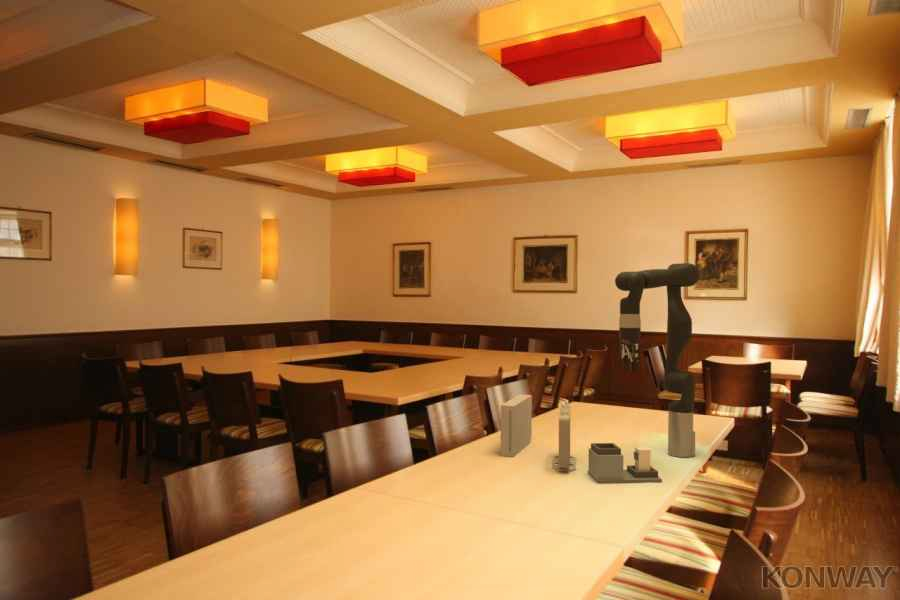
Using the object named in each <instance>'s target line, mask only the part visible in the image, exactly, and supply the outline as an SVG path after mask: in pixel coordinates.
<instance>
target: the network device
mask: <svg viewBox="0 0 900 600" xmlns="http://www.w3.org/2000/svg"><path fill="white" fill-rule="evenodd" d="M557 457H558V458H557ZM556 458H557V459H558V460H556ZM571 458H573V459H572V461H571ZM555 464H559V465H558V467H555V466H556V465H555ZM550 466H551V470H553V469H554V471H557V470H559V471H558V472H575V471H576V470H577V457H575V456H572V455H571V404H560V407H559V414H558V454H557V455H553V456H552V461H551V465H550ZM570 466H572V468H570Z"/></svg>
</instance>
